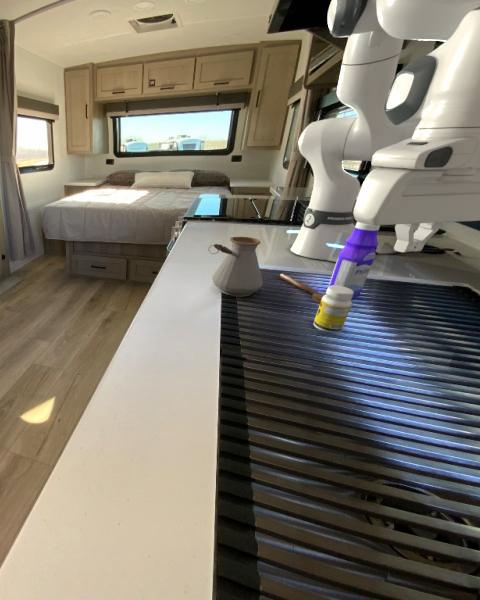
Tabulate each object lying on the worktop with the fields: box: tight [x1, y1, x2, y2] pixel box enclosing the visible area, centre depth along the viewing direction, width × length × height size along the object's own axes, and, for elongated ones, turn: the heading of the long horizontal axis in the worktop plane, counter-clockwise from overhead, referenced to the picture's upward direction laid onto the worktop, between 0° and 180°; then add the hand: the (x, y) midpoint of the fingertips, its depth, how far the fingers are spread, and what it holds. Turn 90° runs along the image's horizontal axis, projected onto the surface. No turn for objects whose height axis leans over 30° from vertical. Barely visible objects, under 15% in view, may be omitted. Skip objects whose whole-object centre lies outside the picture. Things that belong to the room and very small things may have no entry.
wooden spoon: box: [279, 273, 326, 304], centre depth 82 cm, size 17×4×1 cm, turn 8°
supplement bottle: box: [313, 285, 354, 334], centre depth 64 cm, size 5×5×8 cm
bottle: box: [327, 221, 381, 299], centre depth 76 cm, size 7×6×17 cm
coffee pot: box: [208, 236, 264, 298], centre depth 76 cm, size 21×12×15 cm, turn 132°
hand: (406, 251), depth 51 cm, fingers closed
